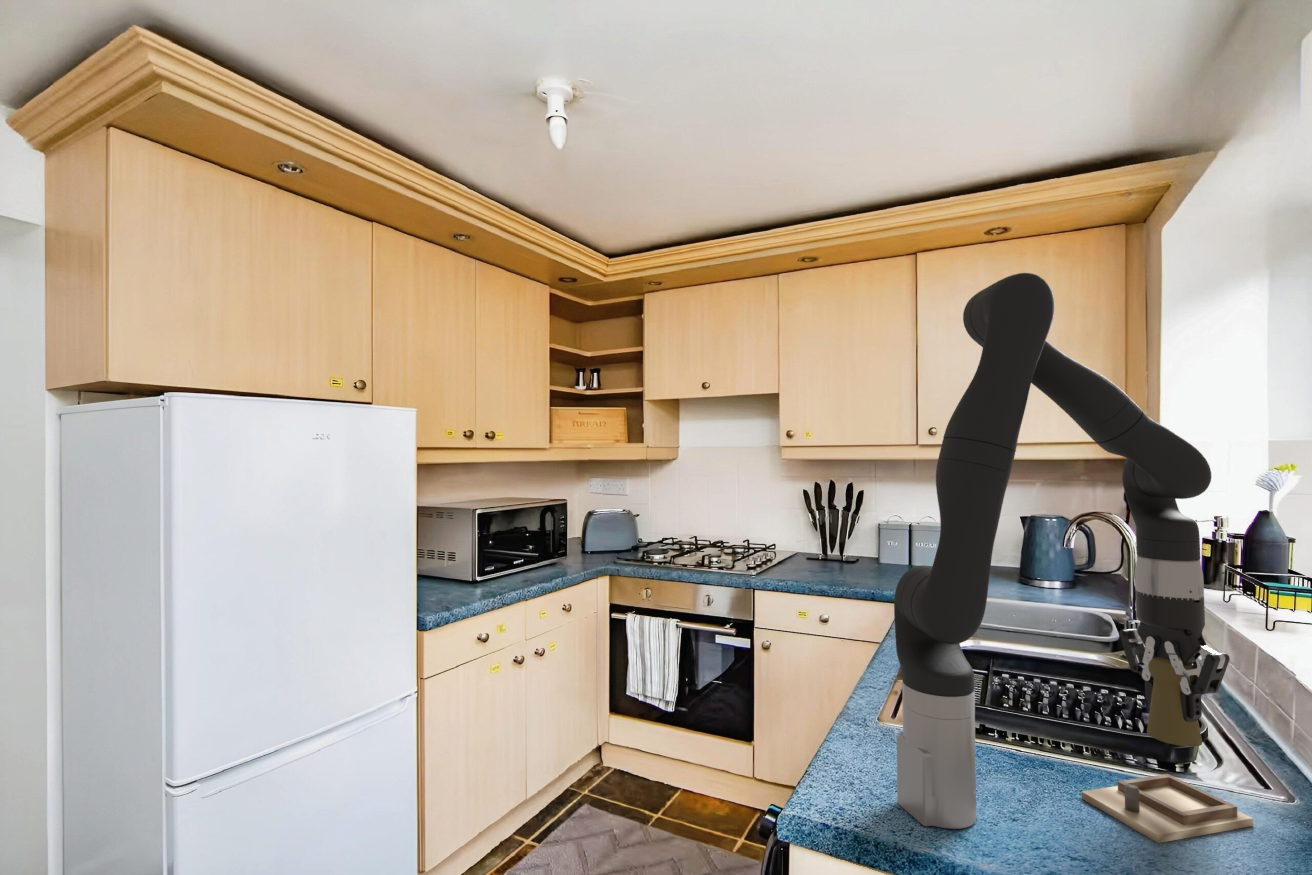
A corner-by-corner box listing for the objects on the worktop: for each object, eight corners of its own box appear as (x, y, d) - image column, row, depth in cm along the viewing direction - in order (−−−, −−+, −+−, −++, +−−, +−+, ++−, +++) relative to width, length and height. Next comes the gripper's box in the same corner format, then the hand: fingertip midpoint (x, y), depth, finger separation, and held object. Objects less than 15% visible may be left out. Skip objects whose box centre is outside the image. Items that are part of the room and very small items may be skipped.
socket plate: (1158, 842, 82) (1157, 810, 82) (1081, 798, 92) (1081, 769, 92) (1253, 825, 85) (1252, 794, 86) (1169, 784, 96) (1168, 757, 96)
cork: (1176, 727, 93) (1174, 650, 93) (1214, 745, 87) (1211, 663, 87) (1136, 728, 93) (1133, 651, 93) (1170, 747, 87) (1168, 664, 87)
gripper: (1101, 582, 96) (1104, 698, 96) (1202, 602, 82) (1206, 738, 82) (1140, 579, 98) (1144, 693, 98) (1246, 599, 84) (1251, 732, 84)
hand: (1172, 713), depth 90 cm, fingers closed on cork, 4 cm apart
